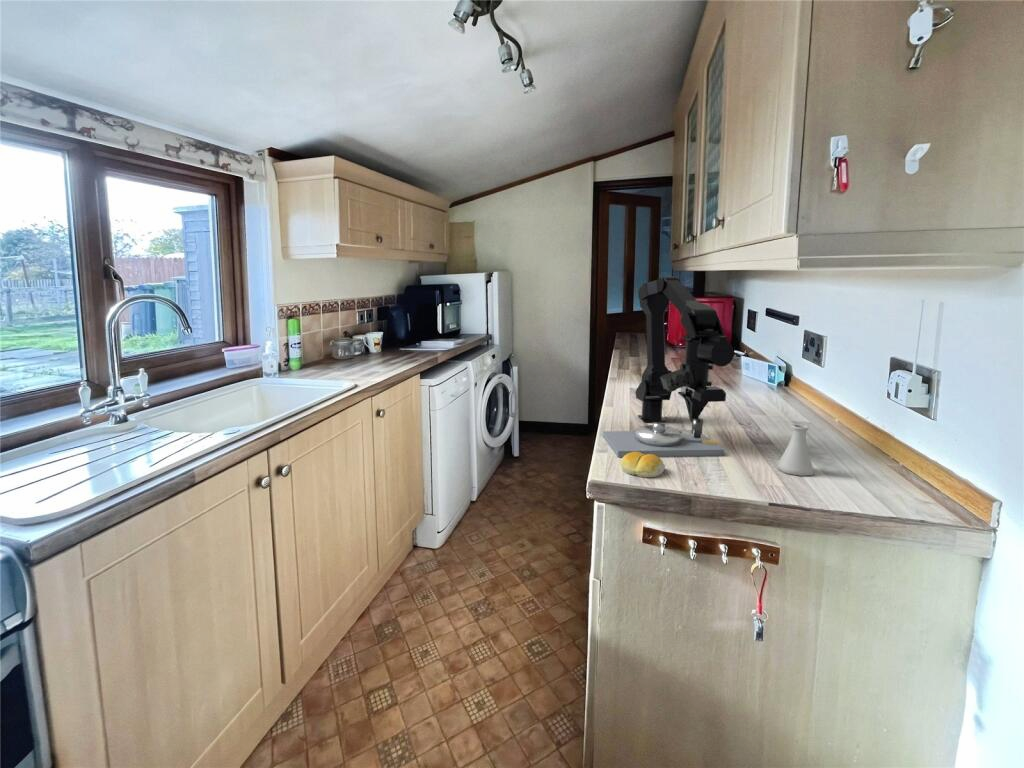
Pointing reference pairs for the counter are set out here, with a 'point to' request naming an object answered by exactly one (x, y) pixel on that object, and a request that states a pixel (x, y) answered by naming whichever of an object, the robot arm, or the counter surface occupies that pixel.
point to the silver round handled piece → (667, 433)
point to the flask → (797, 454)
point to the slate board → (688, 447)
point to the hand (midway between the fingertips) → (692, 421)
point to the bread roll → (642, 464)
